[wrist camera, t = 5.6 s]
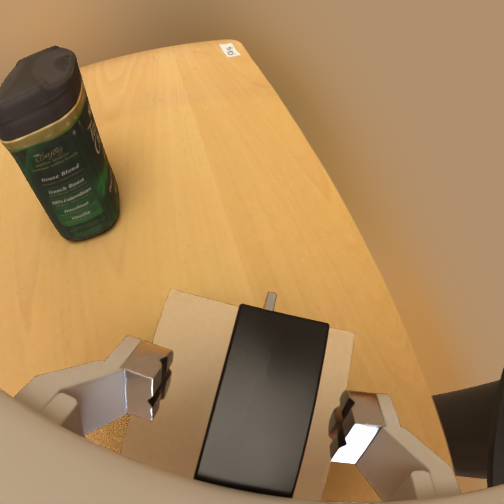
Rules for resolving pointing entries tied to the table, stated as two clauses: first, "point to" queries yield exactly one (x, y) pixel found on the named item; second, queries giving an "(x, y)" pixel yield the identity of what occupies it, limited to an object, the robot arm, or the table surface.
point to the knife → (264, 402)
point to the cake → (205, 386)
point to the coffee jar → (58, 143)
